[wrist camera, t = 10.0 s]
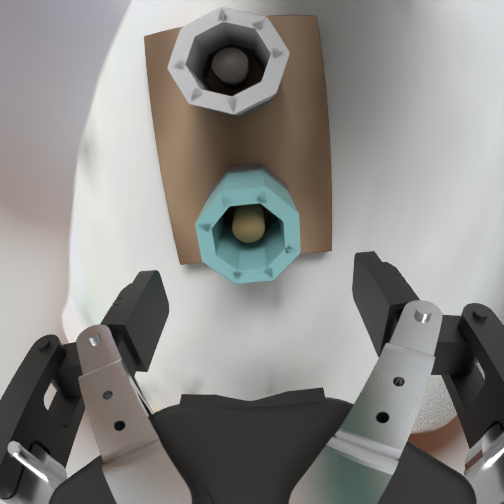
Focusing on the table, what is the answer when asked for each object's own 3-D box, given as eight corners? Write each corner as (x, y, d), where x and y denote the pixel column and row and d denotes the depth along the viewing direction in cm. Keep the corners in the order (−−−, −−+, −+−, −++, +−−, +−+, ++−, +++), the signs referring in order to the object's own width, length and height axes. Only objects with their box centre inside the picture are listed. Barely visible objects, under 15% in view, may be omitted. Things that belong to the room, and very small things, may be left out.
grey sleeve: (252, 28, 15) (252, -8, 9) (290, 92, 17) (308, 81, 11) (181, 65, 16) (150, 45, 10) (219, 128, 18) (204, 133, 12)
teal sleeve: (284, 161, 19) (299, 181, 14) (289, 233, 22) (303, 279, 16) (206, 169, 20) (187, 193, 14) (217, 240, 22) (205, 287, 16)
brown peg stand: (312, 21, 16) (335, -11, 10) (327, 243, 24) (349, 285, 18) (150, 40, 16) (115, 18, 10) (183, 256, 24) (164, 301, 18)
